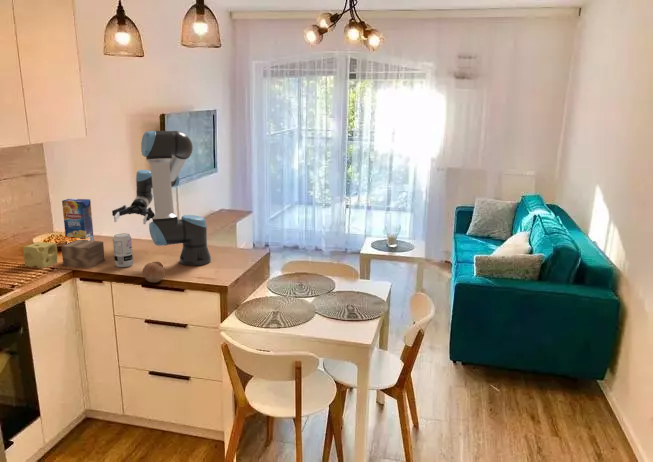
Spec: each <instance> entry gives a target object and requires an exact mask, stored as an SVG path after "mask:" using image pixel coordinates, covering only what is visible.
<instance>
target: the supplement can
mask: <svg viewBox="0 0 653 462" xmlns="http://www.w3.org/2000/svg"><path fill="white" fill-rule="evenodd" d="M112 244H113V245H112V247H113V257H114V259H113V260H114V265H115V267H117V268H128V267H132V265H133V264H134V256H133V254H134V253H133V243H132V236H131V235H130V233H117V234H116V233H115V234H114V235H113V237H112Z"/></svg>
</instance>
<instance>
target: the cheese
mask: <svg viewBox="0 0 653 462" xmlns="http://www.w3.org/2000/svg"><path fill="white" fill-rule="evenodd" d="M22 251H23V260H24V265H25V267H26V266H28V267H30V268H37V267H39V268H38V269H45V268H47V267H49V266H51V265H55V264H57V263H58V247H57V243H56V242H43V241H37V242H34V243H31V244H28V245H25V246H22ZM36 266H37V267H36ZM28 267H27V268H28ZM44 267H45V268H44Z"/></svg>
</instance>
